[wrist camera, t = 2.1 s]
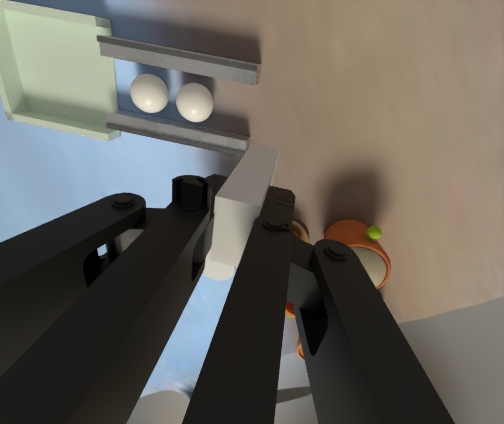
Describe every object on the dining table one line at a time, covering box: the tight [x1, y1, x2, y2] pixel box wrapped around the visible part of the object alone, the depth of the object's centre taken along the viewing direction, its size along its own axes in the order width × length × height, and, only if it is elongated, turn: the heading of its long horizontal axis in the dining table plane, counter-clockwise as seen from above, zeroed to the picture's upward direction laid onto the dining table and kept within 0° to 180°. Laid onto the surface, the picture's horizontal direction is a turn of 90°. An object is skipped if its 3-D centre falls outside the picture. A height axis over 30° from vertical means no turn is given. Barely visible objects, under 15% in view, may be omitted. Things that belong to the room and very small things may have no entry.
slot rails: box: [96, 35, 261, 157], centre depth 29 cm, size 16×9×2 cm, turn 81°
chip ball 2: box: [176, 83, 213, 122], centre depth 28 cm, size 4×4×4 cm
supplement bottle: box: [203, 250, 236, 280], centre depth 32 cm, size 5×5×10 cm
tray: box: [0, 0, 121, 141], centre depth 30 cm, size 13×12×2 cm
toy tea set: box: [285, 219, 391, 361], centre depth 35 cm, size 26×16×10 cm, turn 18°
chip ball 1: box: [130, 74, 169, 113], centre depth 29 cm, size 4×4×4 cm
